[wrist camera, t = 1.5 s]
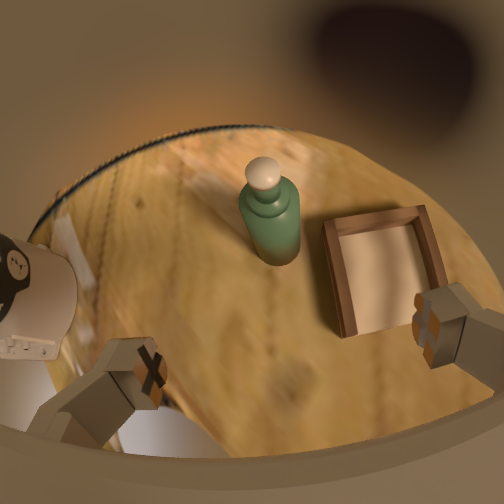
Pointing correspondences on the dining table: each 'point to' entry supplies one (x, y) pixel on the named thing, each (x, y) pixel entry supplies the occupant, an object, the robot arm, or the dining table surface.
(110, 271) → the dining table surface
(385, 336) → the dining table surface
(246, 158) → the dining table surface
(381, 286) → the u rest
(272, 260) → the bottle
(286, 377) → the dining table surface
